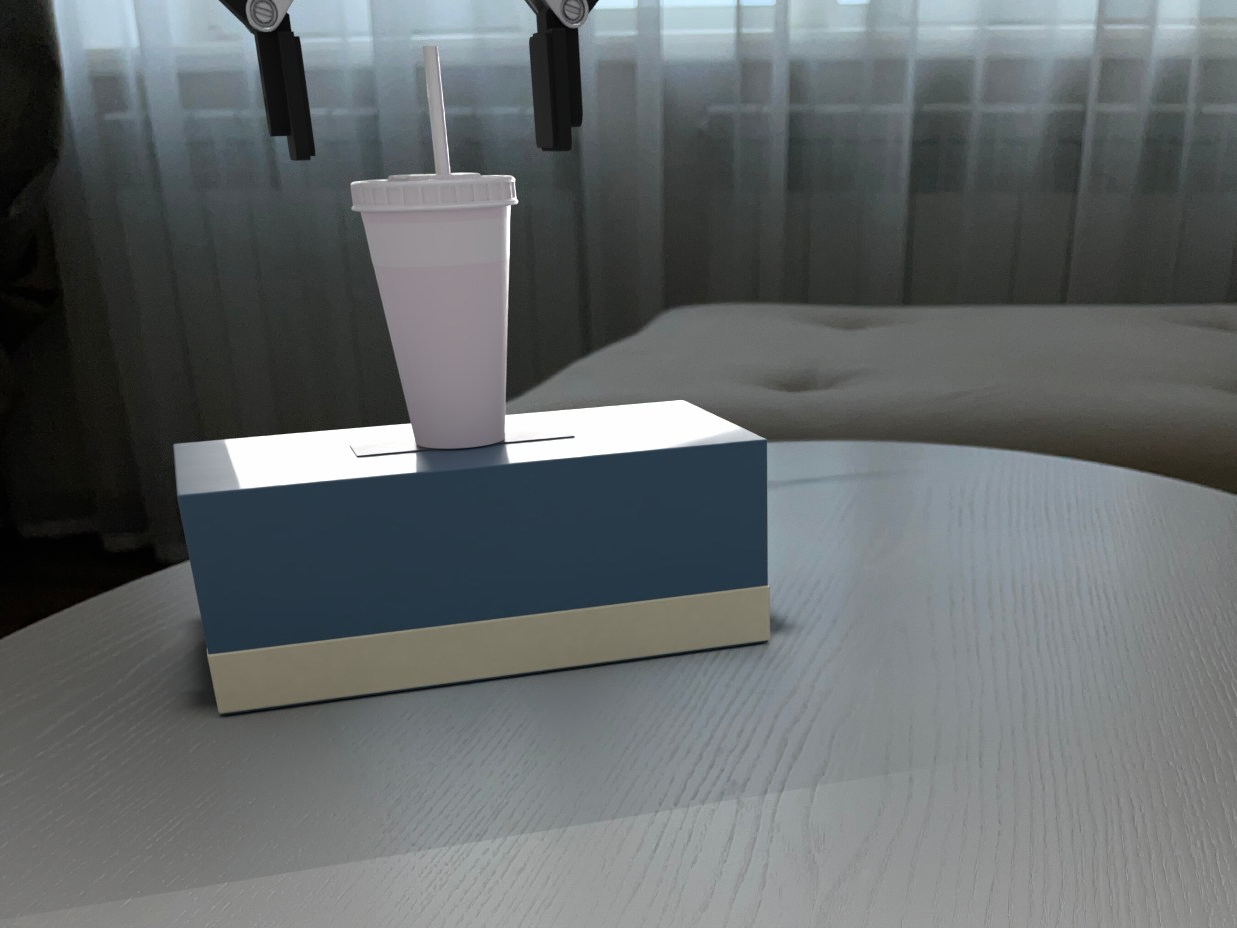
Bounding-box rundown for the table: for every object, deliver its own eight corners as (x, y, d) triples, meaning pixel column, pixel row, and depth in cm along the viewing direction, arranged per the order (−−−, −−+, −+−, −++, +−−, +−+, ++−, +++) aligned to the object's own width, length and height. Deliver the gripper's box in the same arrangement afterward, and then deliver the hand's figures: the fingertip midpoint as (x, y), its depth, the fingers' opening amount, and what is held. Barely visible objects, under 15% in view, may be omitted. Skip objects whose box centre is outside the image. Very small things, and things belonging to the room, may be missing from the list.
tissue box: (219, 717, 57) (175, 494, 52) (209, 636, 66) (171, 442, 62) (770, 642, 63) (769, 437, 58) (690, 578, 72) (684, 398, 68)
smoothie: (468, 460, 56) (424, 39, 49) (349, 447, 59) (293, 50, 53) (568, 432, 61) (540, 43, 54) (453, 421, 64) (413, 53, 57)
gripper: (598, -390, 52) (622, 147, 60) (92, -423, 48) (193, 162, 56) (659, -463, 46) (677, 147, 54) (84, -509, 41) (198, 164, 50)
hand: (431, 154), depth 55 cm, fingers open, 9 cm apart
